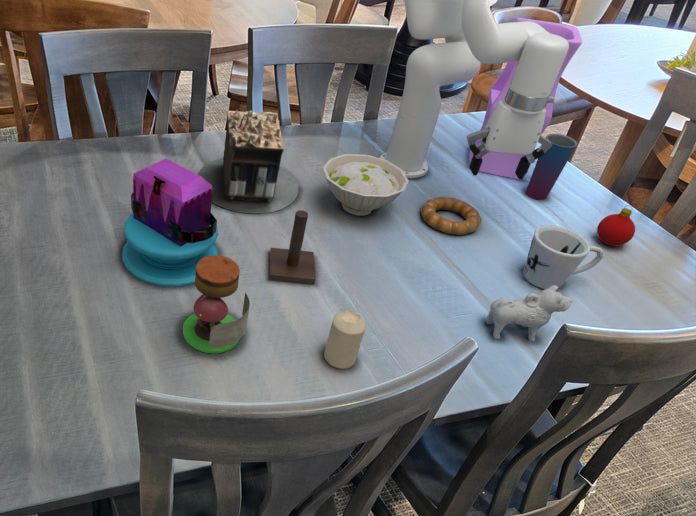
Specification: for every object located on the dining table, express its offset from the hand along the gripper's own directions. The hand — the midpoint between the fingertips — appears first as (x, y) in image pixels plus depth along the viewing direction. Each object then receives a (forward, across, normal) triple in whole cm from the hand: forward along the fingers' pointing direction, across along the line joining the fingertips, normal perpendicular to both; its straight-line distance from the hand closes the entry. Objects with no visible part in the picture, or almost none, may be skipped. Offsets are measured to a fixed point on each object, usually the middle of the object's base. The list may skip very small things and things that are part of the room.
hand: (495, 174), depth 137 cm
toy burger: (+14, +58, +45) cm, 75 cm away
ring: (+12, +6, -1) cm, 13 cm away
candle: (+14, +35, +47) cm, 60 cm away
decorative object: (+13, +68, +23) cm, 73 cm away
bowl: (+13, +27, -3) cm, 30 cm away
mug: (+14, -12, +18) cm, 25 cm away
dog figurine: (+14, +1, +35) cm, 38 cm away
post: (+13, +43, +23) cm, 51 cm away
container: (+13, -13, -32) cm, 37 cm away
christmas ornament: (+14, -29, +2) cm, 32 cm away
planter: (+13, +53, -8) cm, 55 cm away
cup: (+14, -19, -17) cm, 29 cm away
